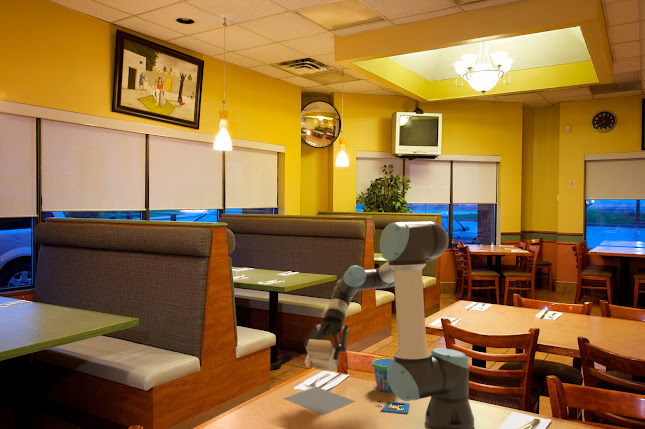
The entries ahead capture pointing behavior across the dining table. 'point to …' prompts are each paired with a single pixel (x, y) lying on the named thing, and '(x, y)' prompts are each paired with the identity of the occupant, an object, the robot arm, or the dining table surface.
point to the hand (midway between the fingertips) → (318, 365)
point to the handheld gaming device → (389, 409)
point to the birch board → (321, 354)
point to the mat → (319, 400)
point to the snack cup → (382, 374)
